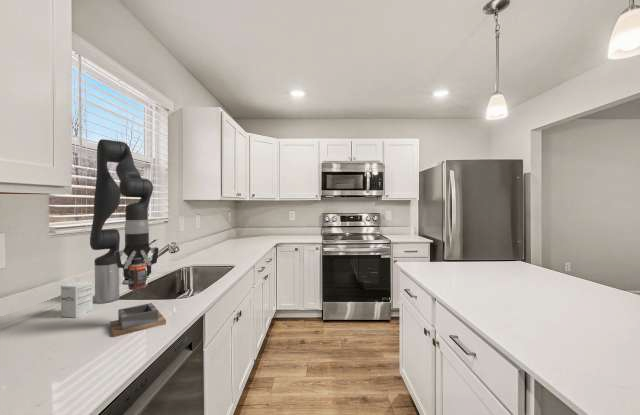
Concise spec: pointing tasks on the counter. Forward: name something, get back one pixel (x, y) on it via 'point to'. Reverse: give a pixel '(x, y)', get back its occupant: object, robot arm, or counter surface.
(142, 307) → the socket stand
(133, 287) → the supplement bottle
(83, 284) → the supplement box
